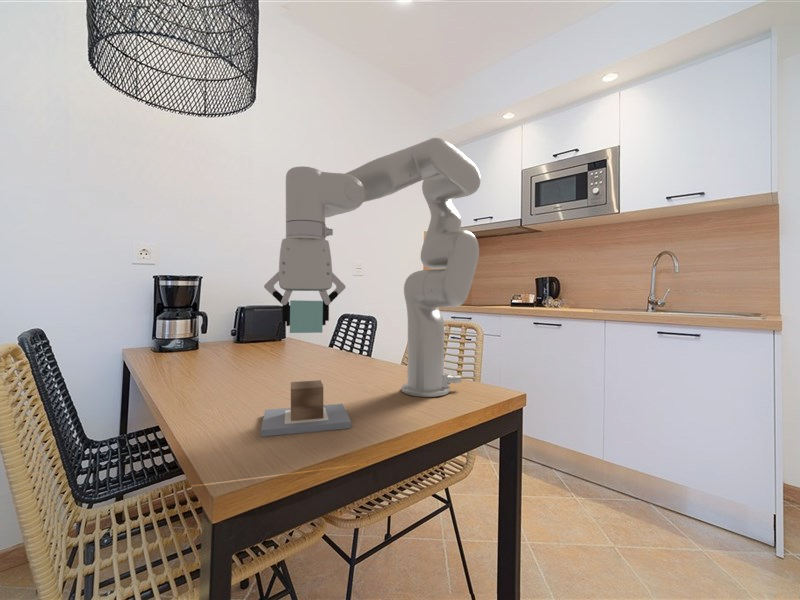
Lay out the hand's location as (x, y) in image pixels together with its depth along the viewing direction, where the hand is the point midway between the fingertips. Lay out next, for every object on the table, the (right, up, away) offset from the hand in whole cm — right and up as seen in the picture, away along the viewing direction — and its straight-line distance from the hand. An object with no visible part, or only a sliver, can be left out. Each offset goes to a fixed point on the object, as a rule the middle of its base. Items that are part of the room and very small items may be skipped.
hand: (305, 324), depth 74 cm
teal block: (0, -1, 0) cm, 1 cm away
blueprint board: (0, -19, 0) cm, 19 cm away
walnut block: (0, -18, 0) cm, 18 cm away
